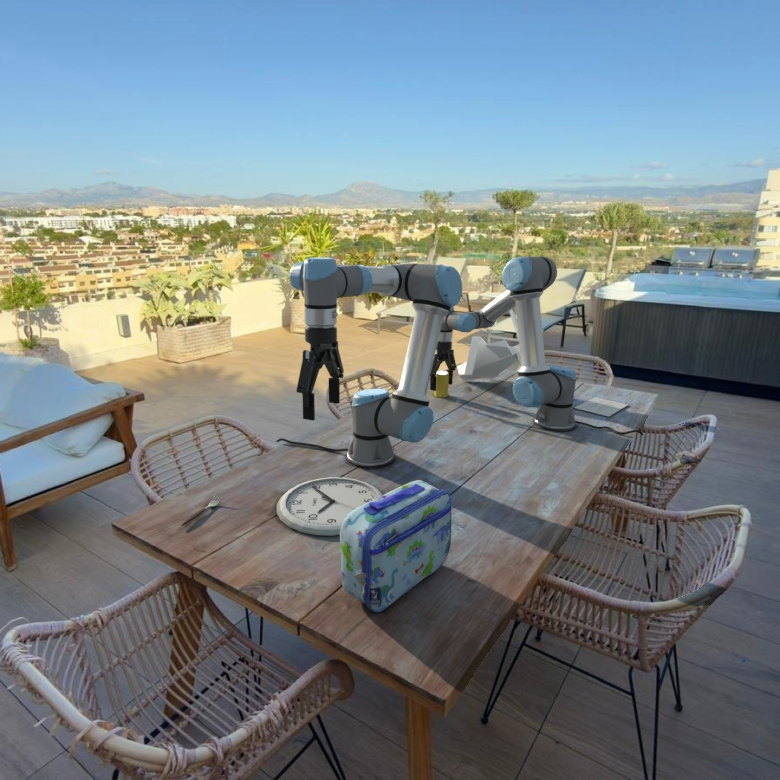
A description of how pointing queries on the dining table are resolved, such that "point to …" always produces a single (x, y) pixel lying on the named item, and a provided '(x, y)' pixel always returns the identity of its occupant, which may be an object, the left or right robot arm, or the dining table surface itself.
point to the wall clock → (323, 504)
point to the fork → (211, 504)
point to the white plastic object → (489, 357)
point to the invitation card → (601, 406)
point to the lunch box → (394, 543)
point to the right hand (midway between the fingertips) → (441, 387)
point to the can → (442, 384)
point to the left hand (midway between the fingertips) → (322, 410)
